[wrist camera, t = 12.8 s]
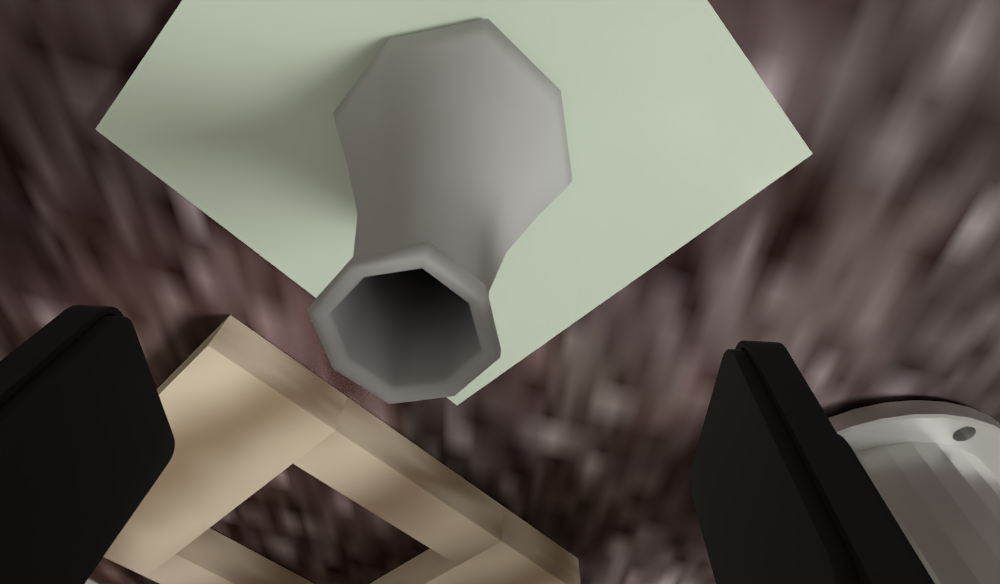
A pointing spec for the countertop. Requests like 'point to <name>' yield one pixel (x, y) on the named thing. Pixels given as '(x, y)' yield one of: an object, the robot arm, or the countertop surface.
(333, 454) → the tan flat rectangular frame
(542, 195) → the flask
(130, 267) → the countertop surface
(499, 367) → the sage tile
